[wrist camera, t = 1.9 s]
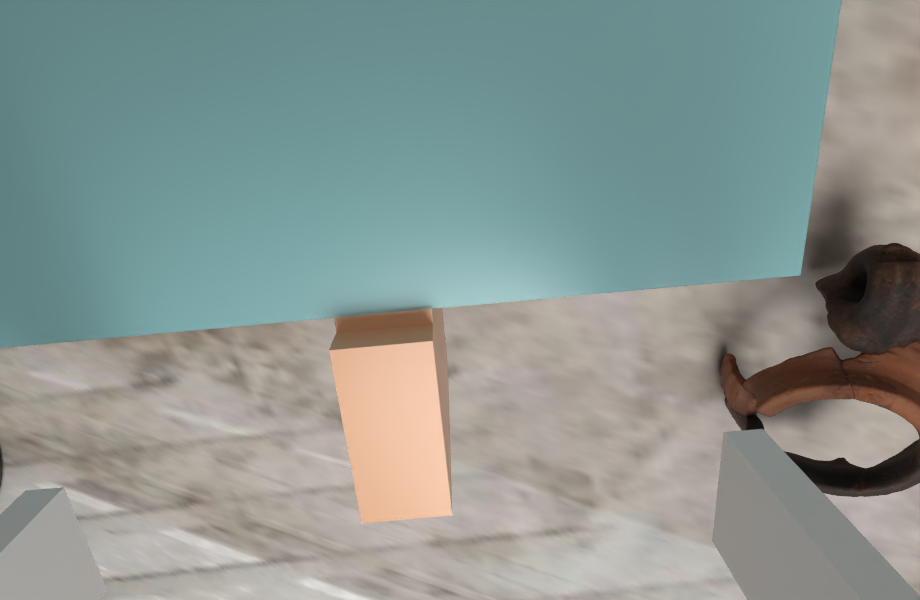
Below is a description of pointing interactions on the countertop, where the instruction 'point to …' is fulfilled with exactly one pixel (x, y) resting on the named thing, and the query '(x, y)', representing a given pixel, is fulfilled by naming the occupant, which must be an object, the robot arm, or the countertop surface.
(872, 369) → the broken clay pot
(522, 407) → the countertop surface
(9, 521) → the robot arm
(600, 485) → the countertop surface
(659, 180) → the lid
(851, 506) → the countertop surface
